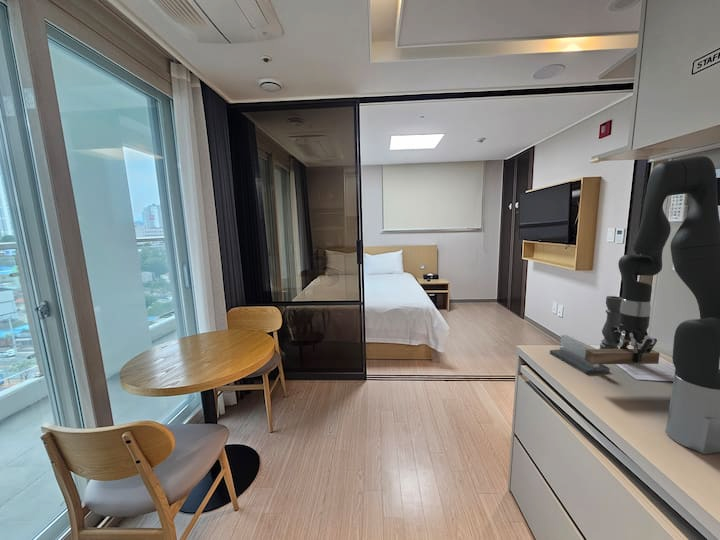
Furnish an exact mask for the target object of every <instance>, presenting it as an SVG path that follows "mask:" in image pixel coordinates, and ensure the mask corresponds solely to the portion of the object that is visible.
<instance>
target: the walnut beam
mask: <svg viewBox="0 0 720 540" xmlns="http://www.w3.org/2000/svg"><path fill="white" fill-rule="evenodd" d="M633 354H634V348H628V349H620V348H619V349H600V348H596V349H586V353H585V360H586V361H588V362H589V363H591V364H602V365H659V363H660V361H659V360H660V354H661V353H660V352H659V351H657V350H655V349H652V350H651V352H650V353H646V354H643V355H642V362H640V363H637V364H635V363H633Z"/></svg>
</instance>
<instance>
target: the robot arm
mask: <svg viewBox="0 0 720 540" xmlns="http://www.w3.org/2000/svg"><path fill="white" fill-rule="evenodd" d="M717 178H718V177H717V172H716V166H715V164H714V162H713V161H712V159H711V158H710V157H708V156H705V155H704V156H703V155H699V156H691V157H687V158H680V159H673V160H668V161H662V162H660V163H658V164H656V165H655V166H654V167H653V168H652V170H651V172H650V174H649V177H648V181H647V187H646V190H645V196H644V197H645V198H644V201H643V209H642V216H641V222H640V225H639V228H638V231H637V233H636V235H635V238H634V240H633V242H632V243H633V244H632V250H633V251H634V252H635V253H636V254H634V253H633V254H624V255H622V256H621V257H620V258H619V260H618V263H617V264H618V270H619V273H620V277H621V280H622V296H621V297H622V301H621V306H620V315H619V321H618V323H619V327H611V331H612V336H613V340H614V343H616V344H618V347H619V349H629V344H630V343H631V346H632V348H633V349H634V354H633V363H635V364H634V365H638V364H637V363H640V362H642V355H643V354H646V353H650V352H651V350H654V349H653V348H654V347H655V345H656V344H657V341H658V340H657V338H653V337H651V336H650V335H648V334H649V333H648V331H647V330H648V328H649V327H650V321H651V320H650V319H651V309H652V308H651V307H652V306H651V299H652V291H653V290H652V289H653V288H652V284H650V283H648V282H643V281H638V280H635V278H634V276H647V277H648V276H649V277H650V276H656V275H658V274H659V273H661V271H662V269H663V251H664V248H665V246H666V243H667V241H668V239H669V237H670V236H671V235H670V234H671V232H672V230H671V229H672V228H671V223H670V221H669V219H668V217H667V216H666V214H665V211H664V207H663V205H664V203H665V201H666V199H667V198H668V197H669V196H676V195H678V196H679V195H685V194H687V198H688V211H687V215H685V216H686V217H685V218H684V219H683V221H682V223H681V224H680V226H679V227H678V229H677V231H676V232H675V234H674V235H673V237H672V239H671V242H670V245H669V246H670V253H671V260H672V265H673V268H674V271H675V273H676V274H677V276H678V277H679V278H680V279H681V281H682V282H683V283H684V284H685V285H686V287H687V288H688V289H689V290H690V292H691V293H692V294H693V296H694V297H695V300H696V302H697V306H698V311H699V318H695V319H687V320H684V321H682V322H680V323H679V324H678V326H677V327H676V329H675V332H674V336H673V347H672V364H673V366H674V368H675V369H674V376H673V383H672V387H671V393H670V394H671V395H670V402H669V407H668V411H667V412H668V414H667V420H666V425H665V433H666V435H667V436H668V437H669V438H670V439H671V440H673V441H674V442H676V443H678V444H679V445H681V446H683V447H686V448H688V449H691V450H694V451H696V452H698V453H700V454H702V455H710V454H715V453H720V213H719V203H718V199H719V198H718V180H717ZM617 337H618V338H617Z"/></svg>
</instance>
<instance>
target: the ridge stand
mask: <svg viewBox="0 0 720 540" xmlns="http://www.w3.org/2000/svg"><path fill="white" fill-rule="evenodd" d="M559 345H560V346H563V347H560V346H559V349H550V350H549V354H550V355H551V356H553V357H555V358H557V359H559V360H560V359H561V360H560V361H562V362H564V363H566V364H567V365H569V366H571V367H573V368H574V369H576V370H577V371H579V372H581V371H582V372H581V373H583V374H585V375H589V374H592V375H593V374H602V373H610V370H611V368H610V367H608V366H607V365H605V364H591V363H589V362H588V361H586V360H585V353H586V349H597V348H595V347H593V346H591V345H590V344H586V343H585V342H583V341H580V340H578V339H576V338H573V337H572V336H569V335H567V334H566V335H565V334H563V335H562V334H561V335H560V344H559Z"/></svg>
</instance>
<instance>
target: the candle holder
mask: <svg viewBox="0 0 720 540" xmlns="http://www.w3.org/2000/svg"><path fill="white" fill-rule="evenodd" d="M605 298H606V299H605V304H606V305H605V306H606V308H607V309H605V313H606V320H605V322H604V325H603V326H602V329H601V333H602V336H603V339H602V340H601V343H599V349H620V347H619V345H618V344H616V343H614V340H613V336H612V331H611V327H619V326H620V324H619V316H620V306H621V301H622V296H615V295H614V296H613V295H607V296H606V297H605ZM617 339H618V337H617Z"/></svg>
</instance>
